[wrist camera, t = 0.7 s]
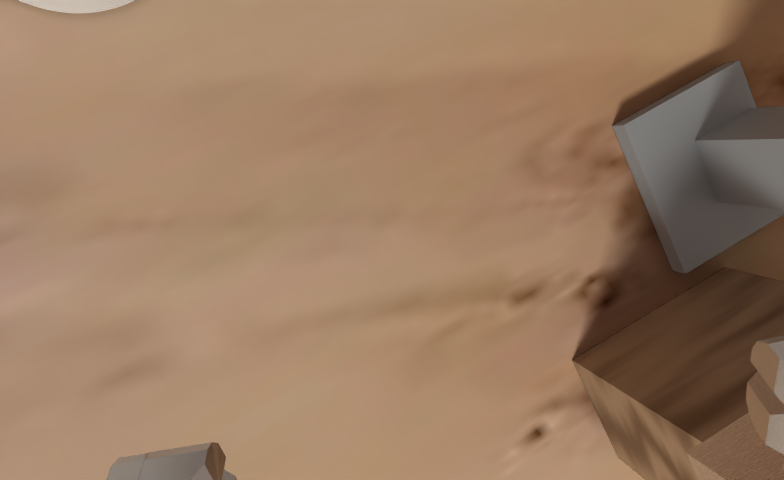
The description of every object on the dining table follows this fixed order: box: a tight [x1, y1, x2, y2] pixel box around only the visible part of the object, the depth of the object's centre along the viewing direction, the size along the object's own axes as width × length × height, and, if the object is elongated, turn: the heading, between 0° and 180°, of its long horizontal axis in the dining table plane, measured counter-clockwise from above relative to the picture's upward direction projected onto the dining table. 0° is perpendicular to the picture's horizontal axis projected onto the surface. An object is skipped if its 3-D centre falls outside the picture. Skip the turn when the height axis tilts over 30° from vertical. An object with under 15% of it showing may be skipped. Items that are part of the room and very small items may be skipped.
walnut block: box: [572, 267, 784, 480], centre depth 45 cm, size 9×14×15 cm, turn 117°
